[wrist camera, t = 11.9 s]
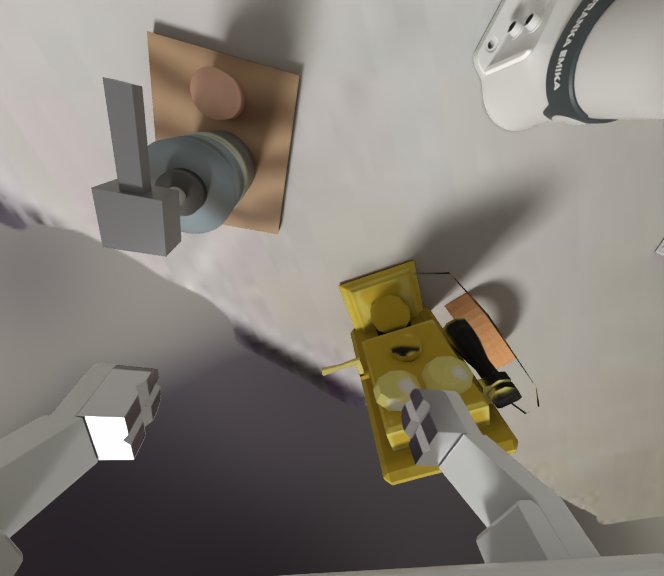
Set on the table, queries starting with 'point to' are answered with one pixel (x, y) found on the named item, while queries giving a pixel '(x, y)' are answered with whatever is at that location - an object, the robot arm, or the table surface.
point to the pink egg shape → (217, 94)
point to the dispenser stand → (220, 139)
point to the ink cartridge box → (661, 249)
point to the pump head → (134, 183)
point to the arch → (482, 330)
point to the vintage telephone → (418, 365)
